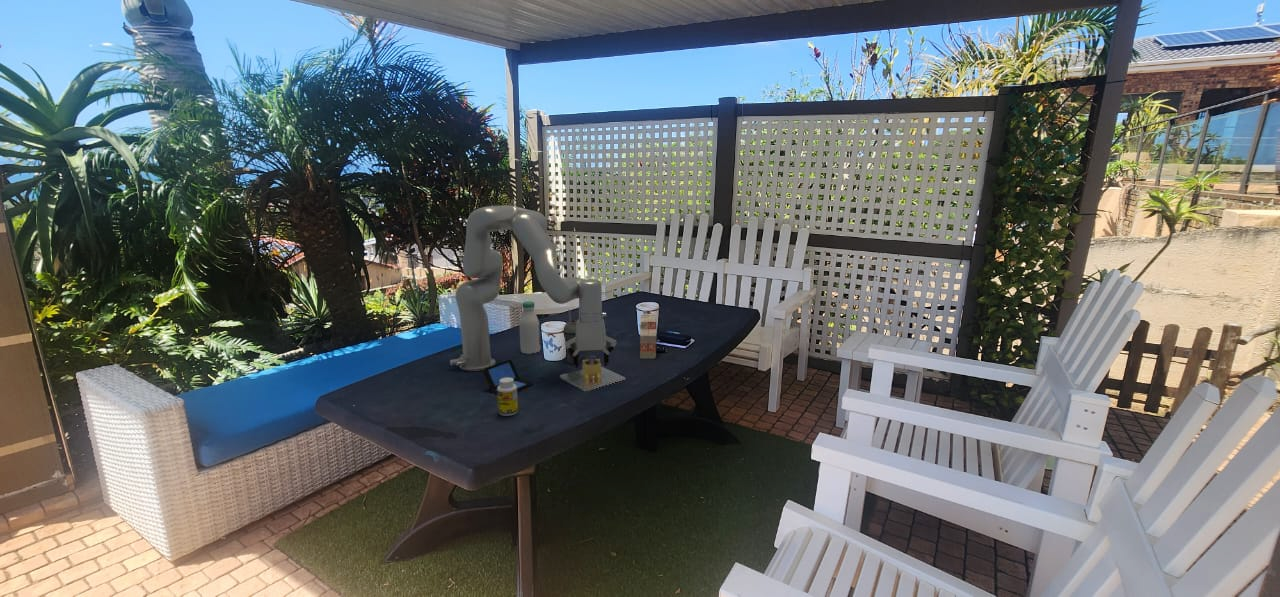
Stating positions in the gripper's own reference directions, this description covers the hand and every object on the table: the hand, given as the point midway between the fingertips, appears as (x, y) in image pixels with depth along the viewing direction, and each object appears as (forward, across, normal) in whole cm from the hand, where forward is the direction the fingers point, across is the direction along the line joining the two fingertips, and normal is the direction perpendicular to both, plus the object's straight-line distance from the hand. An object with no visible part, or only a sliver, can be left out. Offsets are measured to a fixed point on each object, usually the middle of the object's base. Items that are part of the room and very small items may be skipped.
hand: (591, 365), depth 180 cm
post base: (+5, 0, 0) cm, 5 cm away
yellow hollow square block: (+4, 0, +2) cm, 4 cm away
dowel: (+5, 0, +5) cm, 7 cm away
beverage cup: (+5, +5, -20) cm, 21 cm away
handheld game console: (+6, +27, +3) cm, 28 cm away
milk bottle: (+6, +22, -34) cm, 41 cm away
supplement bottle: (+5, +26, +23) cm, 35 cm away
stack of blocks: (+5, -24, -28) cm, 38 cm away
